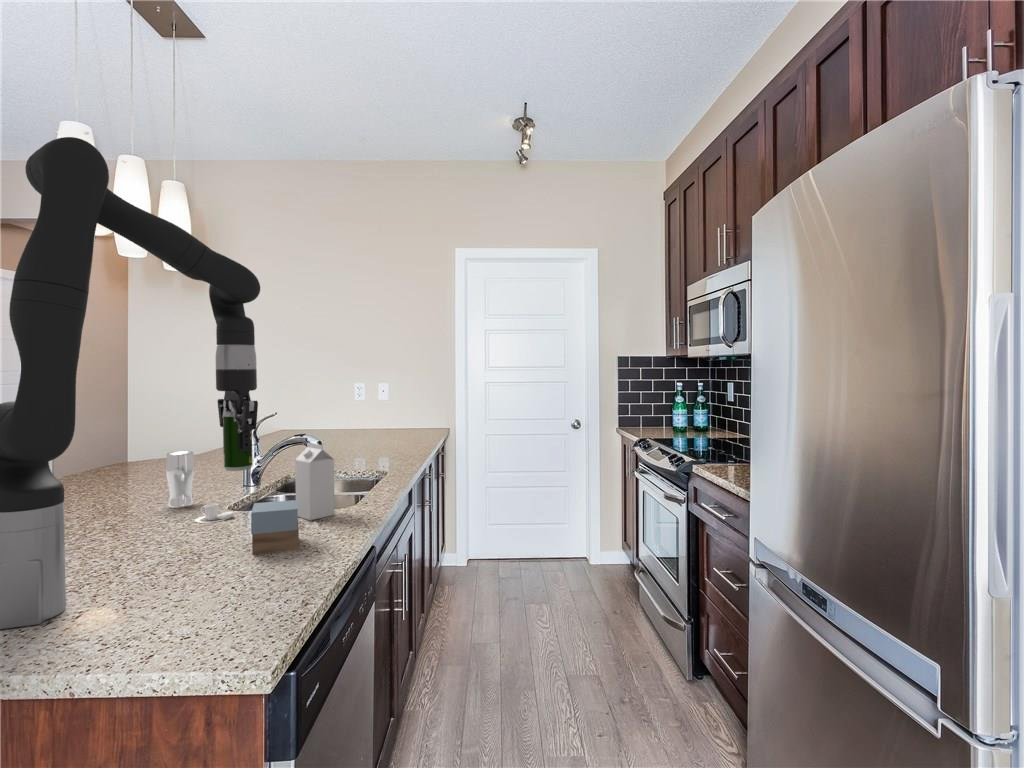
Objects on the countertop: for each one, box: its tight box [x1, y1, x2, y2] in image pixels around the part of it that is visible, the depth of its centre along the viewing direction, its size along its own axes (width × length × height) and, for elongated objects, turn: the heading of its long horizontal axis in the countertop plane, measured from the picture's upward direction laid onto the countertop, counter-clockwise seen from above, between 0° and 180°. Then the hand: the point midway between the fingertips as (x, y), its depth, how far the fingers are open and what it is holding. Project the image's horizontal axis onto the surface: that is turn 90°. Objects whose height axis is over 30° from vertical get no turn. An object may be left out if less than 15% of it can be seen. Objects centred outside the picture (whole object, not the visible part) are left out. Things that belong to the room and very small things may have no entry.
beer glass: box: [165, 450, 195, 509], centre depth 159 cm, size 7×7×15 cm
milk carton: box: [295, 442, 335, 521], centre depth 147 cm, size 7×7×19 cm
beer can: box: [222, 411, 254, 472], centre depth 115 cm, size 5×5×12 cm
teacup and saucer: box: [194, 503, 235, 524], centre depth 144 cm, size 9×8×4 cm
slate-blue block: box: [250, 499, 299, 535], centre depth 122 cm, size 9×9×4 cm
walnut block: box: [251, 527, 300, 555], centre depth 122 cm, size 9×9×4 cm
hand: (238, 449), depth 115 cm, fingers closed on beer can, 5 cm apart
